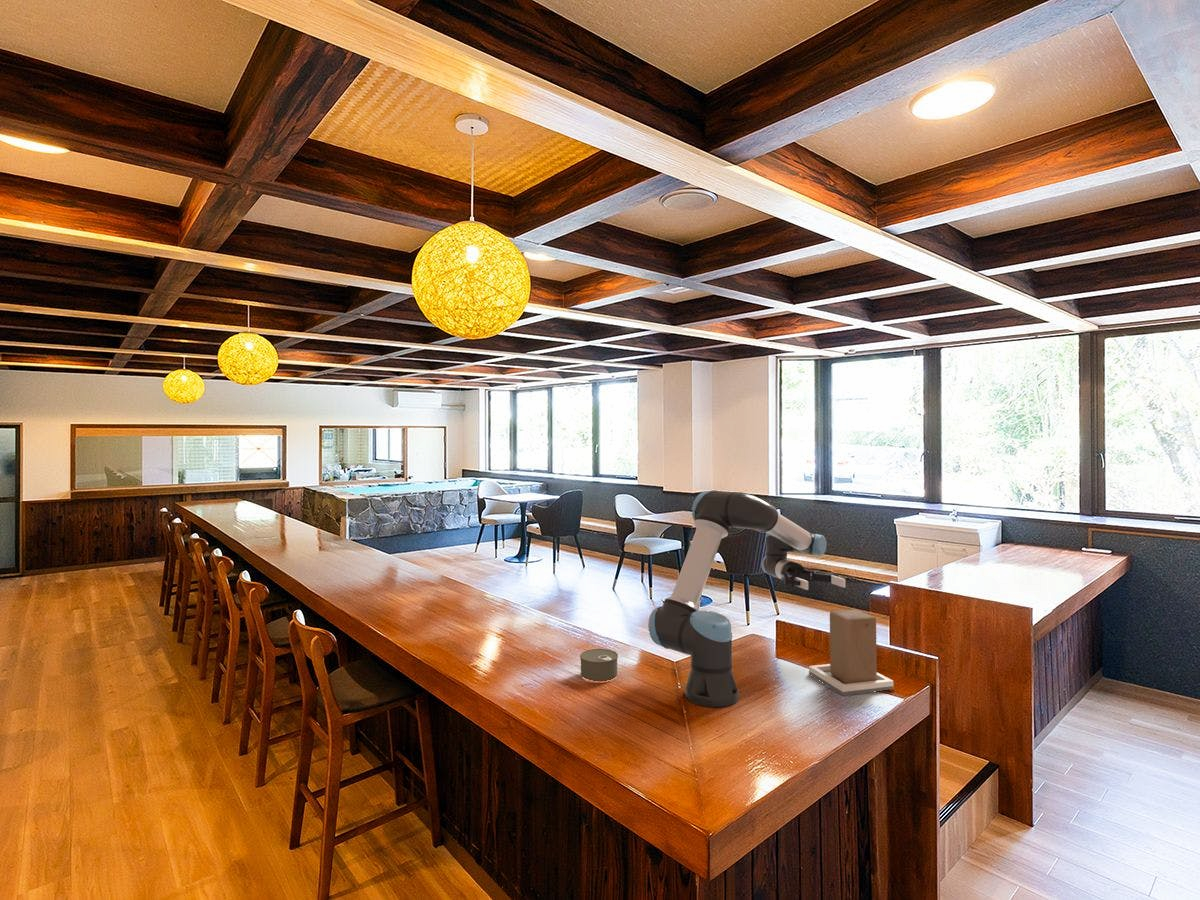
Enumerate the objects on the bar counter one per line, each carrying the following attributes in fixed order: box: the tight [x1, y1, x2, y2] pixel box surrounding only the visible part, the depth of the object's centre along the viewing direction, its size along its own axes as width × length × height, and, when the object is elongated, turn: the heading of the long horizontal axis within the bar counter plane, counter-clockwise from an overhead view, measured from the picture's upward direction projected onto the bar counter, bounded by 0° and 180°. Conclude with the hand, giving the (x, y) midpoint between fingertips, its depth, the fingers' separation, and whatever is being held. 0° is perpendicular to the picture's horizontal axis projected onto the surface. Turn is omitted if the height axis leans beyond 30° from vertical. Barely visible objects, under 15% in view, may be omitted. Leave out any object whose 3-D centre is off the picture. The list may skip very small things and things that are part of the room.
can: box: [579, 648, 619, 681], centre depth 188 cm, size 12×12×7 cm
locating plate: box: [808, 663, 895, 697], centre depth 181 cm, size 17×17×3 cm
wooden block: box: [829, 609, 878, 684], centre depth 180 cm, size 10×10×20 cm
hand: (826, 584), depth 193 cm, fingers open, 13 cm apart
